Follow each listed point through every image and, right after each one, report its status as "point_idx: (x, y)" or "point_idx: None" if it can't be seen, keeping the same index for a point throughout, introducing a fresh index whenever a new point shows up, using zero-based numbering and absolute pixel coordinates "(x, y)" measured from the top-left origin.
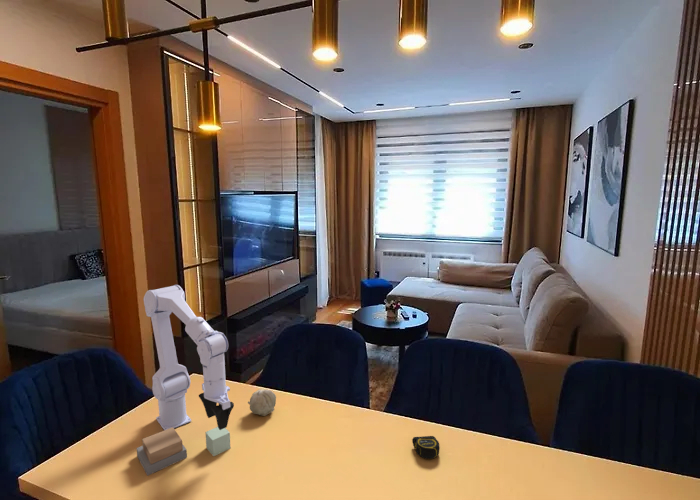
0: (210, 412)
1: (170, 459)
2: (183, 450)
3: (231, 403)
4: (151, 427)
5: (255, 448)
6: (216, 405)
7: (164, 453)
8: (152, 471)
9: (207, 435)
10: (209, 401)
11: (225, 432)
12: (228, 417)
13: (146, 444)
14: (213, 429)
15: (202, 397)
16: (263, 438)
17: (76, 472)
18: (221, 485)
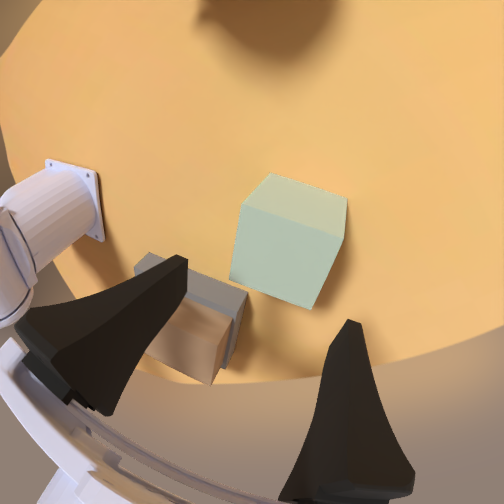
0: (170, 303)
1: (234, 334)
2: (235, 318)
3: (380, 494)
4: (79, 241)
5: (449, 153)
6: (145, 291)
7: (220, 358)
8: (233, 350)
9: (254, 285)
10: (121, 361)
11: (320, 247)
12: (374, 385)
13: (168, 364)
14: (240, 252)
15: (105, 413)
16: (432, 74)
17: (144, 356)
18: (432, 331)
